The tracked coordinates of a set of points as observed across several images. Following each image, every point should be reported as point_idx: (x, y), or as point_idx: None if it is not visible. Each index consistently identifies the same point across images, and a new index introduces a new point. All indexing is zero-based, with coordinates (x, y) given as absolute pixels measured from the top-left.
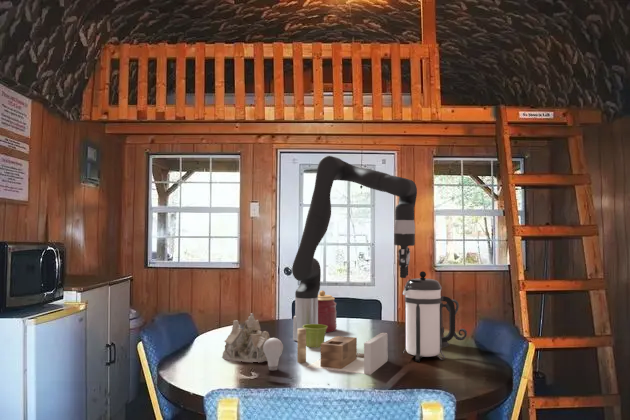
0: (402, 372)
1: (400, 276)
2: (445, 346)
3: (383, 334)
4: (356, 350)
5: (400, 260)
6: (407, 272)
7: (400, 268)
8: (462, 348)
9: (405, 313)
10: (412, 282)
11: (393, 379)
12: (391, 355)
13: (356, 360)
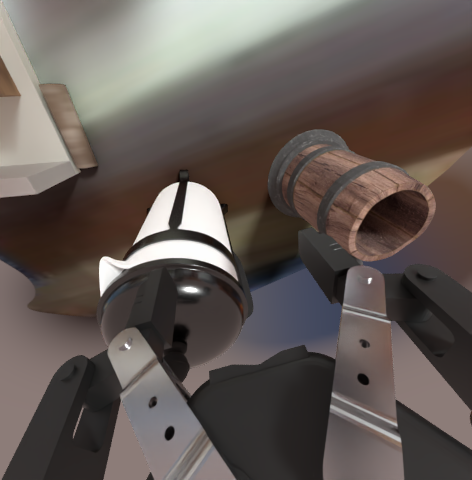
0: (61, 213)
1: (151, 274)
2: (290, 215)
3: (7, 192)
4: (1, 94)
5: (38, 429)
6: (309, 267)
7: (137, 320)
8: (286, 239)
9: (171, 211)
10: (104, 327)
11: (4, 216)
12: (166, 147)
13: (7, 102)
